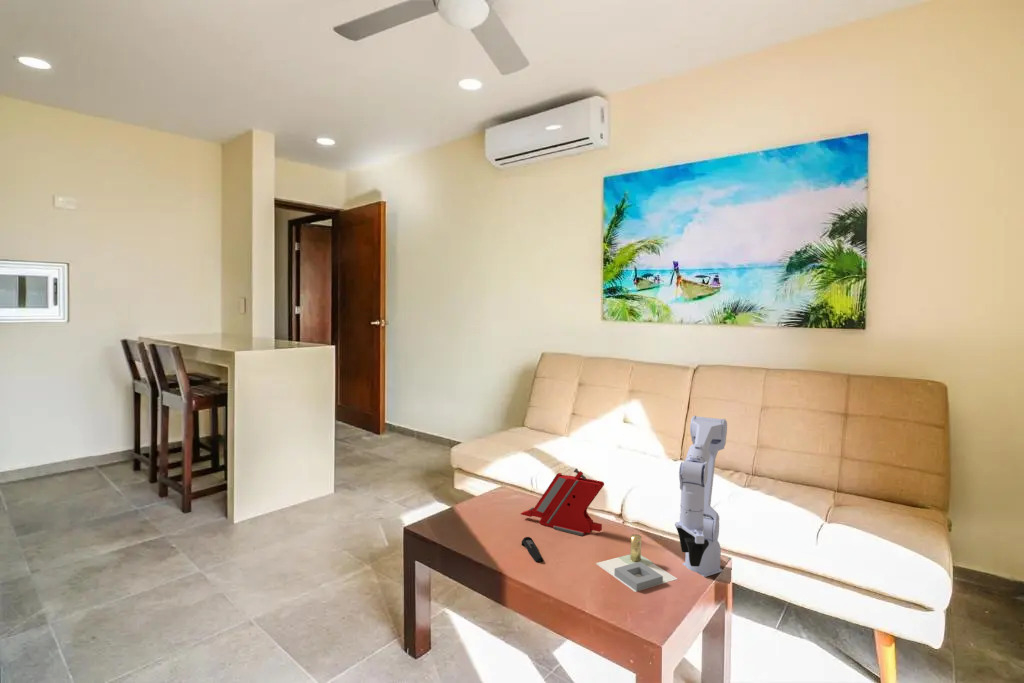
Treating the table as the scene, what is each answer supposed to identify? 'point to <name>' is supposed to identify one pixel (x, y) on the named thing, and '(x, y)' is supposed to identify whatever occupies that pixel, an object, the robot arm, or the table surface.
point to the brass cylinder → (635, 548)
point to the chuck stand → (636, 572)
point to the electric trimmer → (532, 549)
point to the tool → (568, 504)
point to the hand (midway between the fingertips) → (690, 558)
